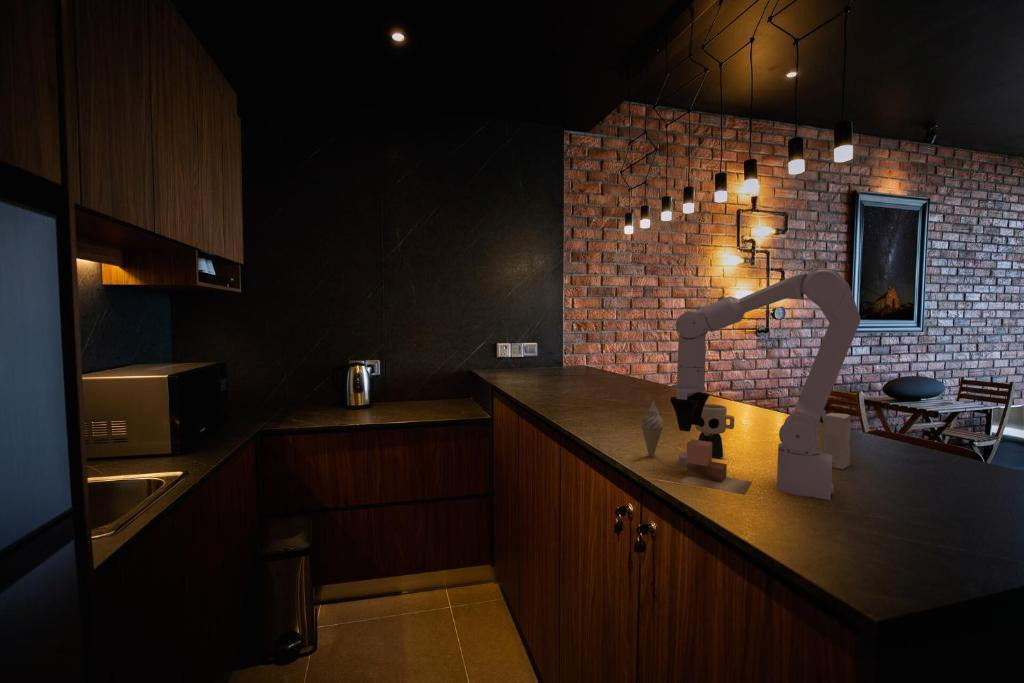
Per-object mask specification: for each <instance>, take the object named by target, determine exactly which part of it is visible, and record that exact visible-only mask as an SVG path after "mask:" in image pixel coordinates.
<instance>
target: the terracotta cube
mask: <svg viewBox="0 0 1024 683" xmlns="http://www.w3.org/2000/svg"><path fill="white" fill-rule="evenodd" d="M686 454H687V458H686V463H691V464H696V465H702V466H708V465H709V464H710V463H711V462H713V461H712V460H713V458H712V442H707V441H700V440H698V439H690V440H689V441H688V442H687V443H686Z"/></svg>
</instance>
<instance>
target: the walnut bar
mask: <svg viewBox="0 0 1024 683" xmlns="http://www.w3.org/2000/svg"><path fill="white" fill-rule="evenodd" d="M727 466H728V464H727V463H724V462H718V461H717V462H716V461H712V462H711V463H710V464H709V465H708V466H702V465H696V464H691V463H687V467H686V476H689V477H695V478H700V479H705V480H710V481H716V482H721V483H722V482H723V481H724V479H725V478H726V477H727V473H728V472H727Z"/></svg>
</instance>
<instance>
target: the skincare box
mask: <svg viewBox="0 0 1024 683" xmlns="http://www.w3.org/2000/svg"><path fill="white" fill-rule="evenodd" d="M823 426H824V427H823V453H825V454H830V455H833V458H832V469H833V468H835V469H838V470H844V469H846V468H848V467H849V466H850V465H851V464H850V463H851V415H850V414H847V413H838V412H830V413H826V415H825V414H824V425H823Z"/></svg>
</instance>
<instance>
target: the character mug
mask: <svg viewBox="0 0 1024 683" xmlns="http://www.w3.org/2000/svg"><path fill="white" fill-rule="evenodd" d="M727 420H729V424H727ZM694 426H695V430H696V431H698V432H699V433H700V434H699V435H698V439H697V440H700V441H707V442H712V459H716V460H721V459H722V458H723V457H724V449H723V439H722V436H721V434H724V433H726V430H728V429H729V430H733V429H735V416H734V415H729V414H727V406H725V405H722V404H715V403H705V405H704V408H703V411H702V415H701V420H700V423H699V425H694Z"/></svg>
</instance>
